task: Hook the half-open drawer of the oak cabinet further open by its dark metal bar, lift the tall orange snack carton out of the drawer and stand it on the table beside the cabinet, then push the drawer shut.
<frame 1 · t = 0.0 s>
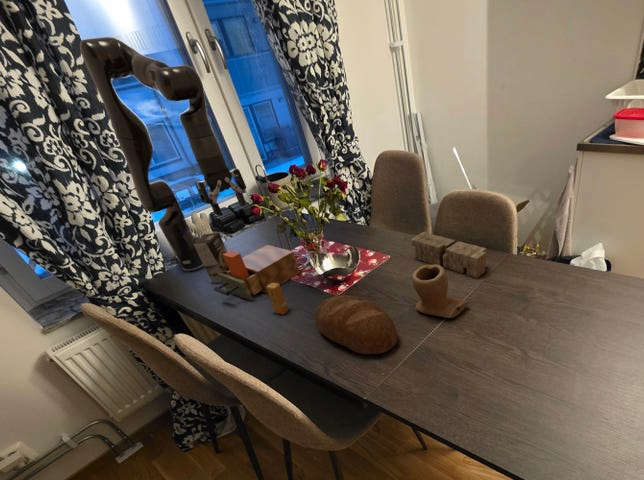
hand: (231, 210, 121), 29 cm above the table, tool pointing down, fingers open, 8 cm apart
cabinet: (271, 278, 147), on the table
snack carton: (245, 287, 139), point 2 cm above the table, touching drawer
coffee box: (225, 277, 152), on the table
supplement box: (282, 311, 129), on the table
drawer: (245, 280, 138), point 4 cm above the table, slide at 5.5 cm, touching snack carton
bread: (356, 334, 116), on the table
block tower: (449, 264, 143), on the table
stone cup: (438, 312, 121), on the table
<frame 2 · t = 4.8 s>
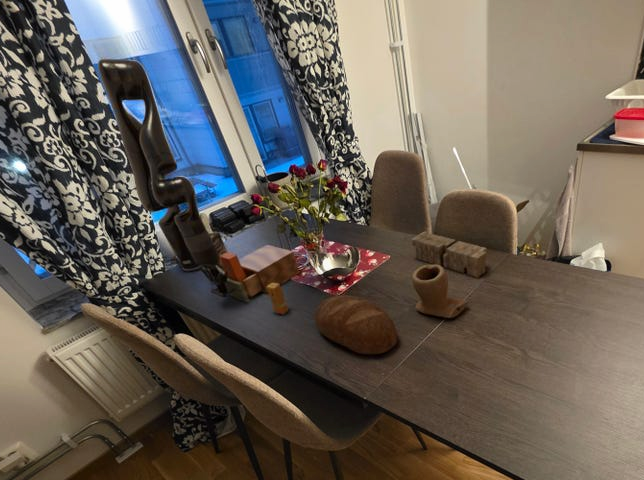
hand: (224, 292, 133), 4 cm above the table, tool pointing down, fingers closed
snack carton: (242, 289, 139), point 2 cm above the table, touching drawer
drawer: (242, 282, 138), point 4 cm above the table, slide at 6.9 cm, touching gripper, snack carton
everything else where it was.
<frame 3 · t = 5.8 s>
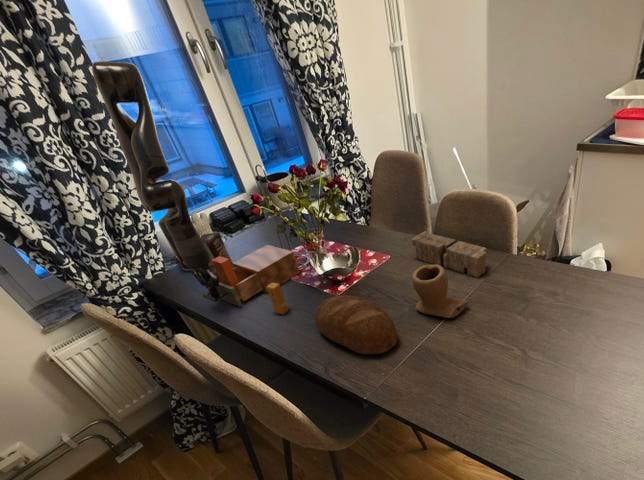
hand: (216, 297, 131), 4 cm above the table, tool pointing down, fingers closed
snack carton: (235, 293, 137), point 2 cm above the table, touching drawer
drawer: (235, 286, 136), point 4 cm above the table, slide at 9.9 cm, touching snack carton
everything else where it was.
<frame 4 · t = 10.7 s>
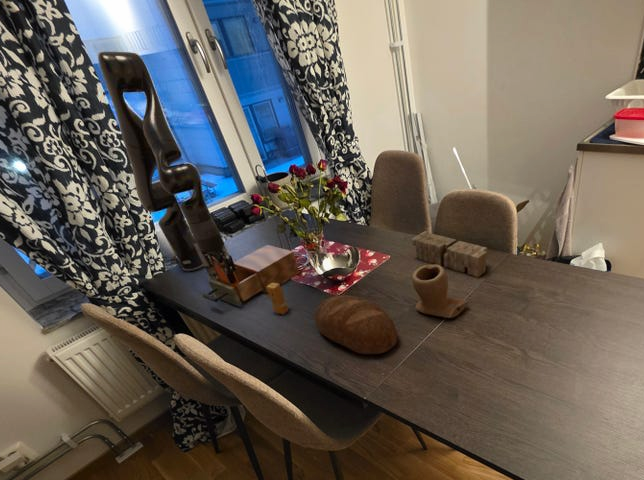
hand: (228, 280, 133), 7 cm above the table, tool pointing down, fingers closed on snack carton, 5 cm apart
snack carton: (235, 293, 137), point 2 cm above the table, touching drawer, gripper
everything else where it was.
when the fingers open (5 cm above the table, at t = 18.4 s): snack carton stays where it is, on the table.
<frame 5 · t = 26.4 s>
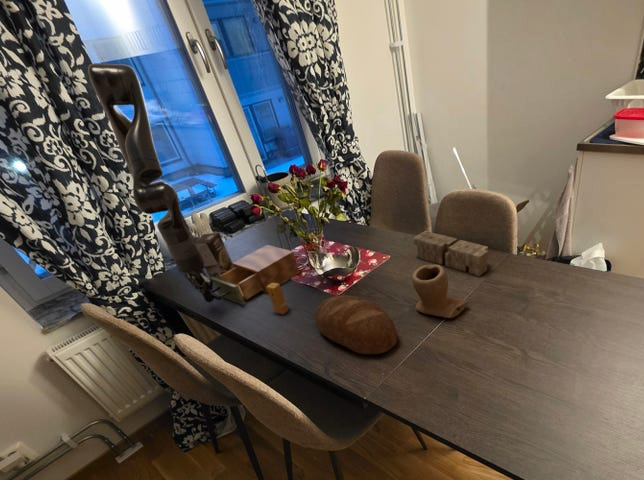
hand: (210, 300, 130), 4 cm above the table, tool pointing down, fingers closed
snack carton: (317, 266, 151), on the table
drawer: (238, 284, 137), point 4 cm above the table, slide at 8.7 cm, touching gripper
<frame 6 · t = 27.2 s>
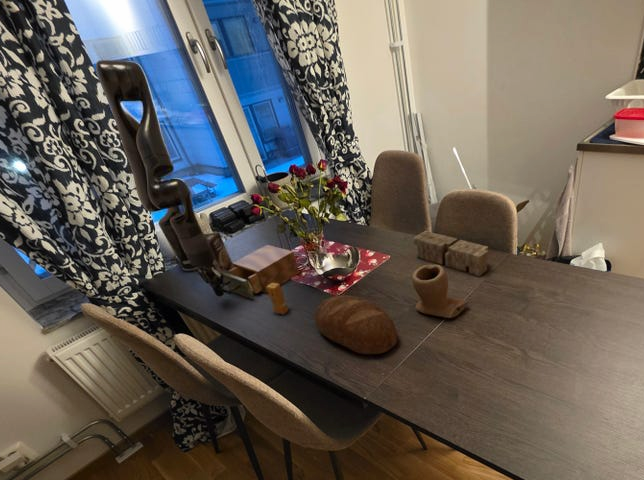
hand: (220, 295, 132), 4 cm above the table, tool pointing down, fingers closed
drawer: (247, 279, 139), point 4 cm above the table, slide at 4.7 cm, touching gripper
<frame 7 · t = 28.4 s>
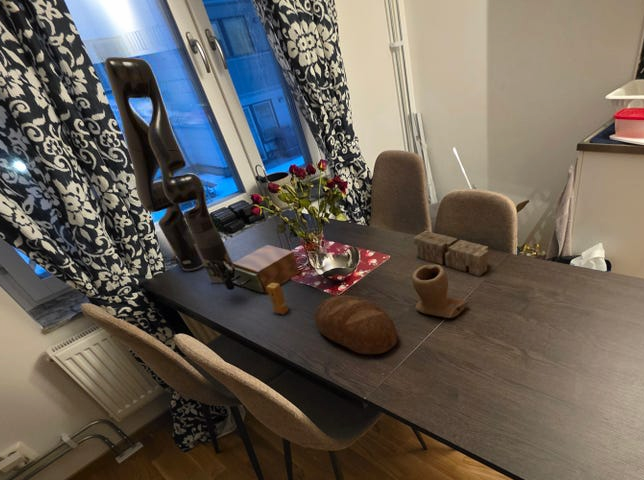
hand: (231, 288, 135), 4 cm above the table, tool pointing down, fingers closed
drawer: (257, 273, 141), point 4 cm above the table, slide at 0.3 cm, touching gripper
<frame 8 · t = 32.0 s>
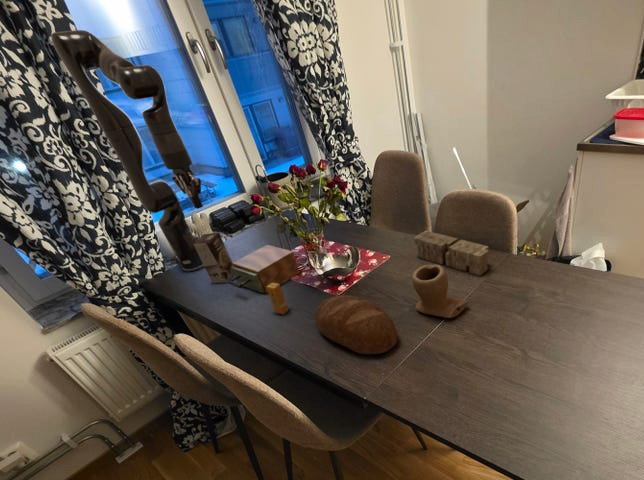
hand: (199, 207, 127), 29 cm above the table, tool pointing down, fingers closed
drawer: (257, 273, 141), point 4 cm above the table, slide at 0.2 cm
at the end: drawer pulled out 10.0 cm at the most during the clip, back to 0.2 cm at the end; snack carton inside the target area (0.4 cm from its centre), on the table; drawer slide at 0.2 cm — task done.
